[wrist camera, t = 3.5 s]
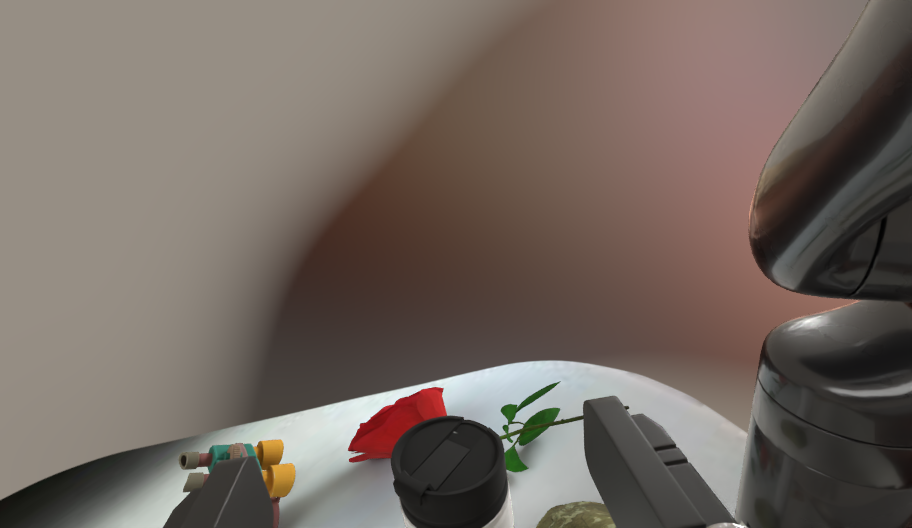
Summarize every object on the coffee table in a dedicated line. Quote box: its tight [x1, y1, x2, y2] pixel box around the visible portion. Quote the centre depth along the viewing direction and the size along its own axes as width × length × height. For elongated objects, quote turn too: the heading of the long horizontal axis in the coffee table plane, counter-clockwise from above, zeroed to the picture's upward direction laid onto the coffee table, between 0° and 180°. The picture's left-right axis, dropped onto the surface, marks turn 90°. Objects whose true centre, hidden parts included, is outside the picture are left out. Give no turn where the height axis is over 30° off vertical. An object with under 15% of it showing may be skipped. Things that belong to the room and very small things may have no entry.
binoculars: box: [179, 440, 295, 528], centre depth 42 cm, size 9×9×10 cm
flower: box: [348, 381, 629, 472], centre depth 47 cm, size 9×9×30 cm
